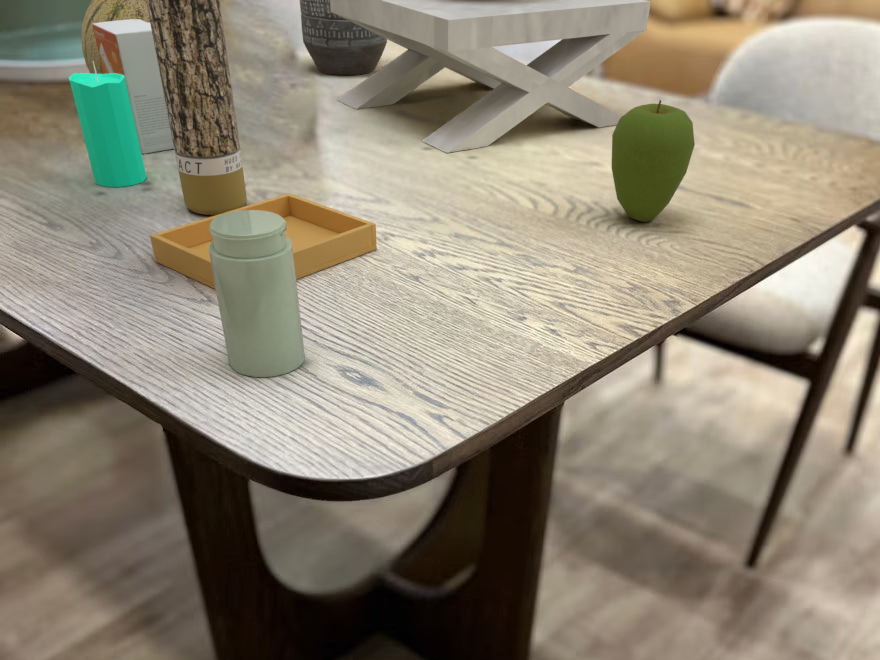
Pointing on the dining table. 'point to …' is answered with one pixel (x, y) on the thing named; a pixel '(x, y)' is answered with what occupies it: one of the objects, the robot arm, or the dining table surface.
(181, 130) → the paper tube
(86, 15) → the cantaloupe
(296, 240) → the tray
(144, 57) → the small box
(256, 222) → the jar
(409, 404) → the dining table surface
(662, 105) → the apple
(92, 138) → the candle
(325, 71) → the planter
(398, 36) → the x-leg display riser
